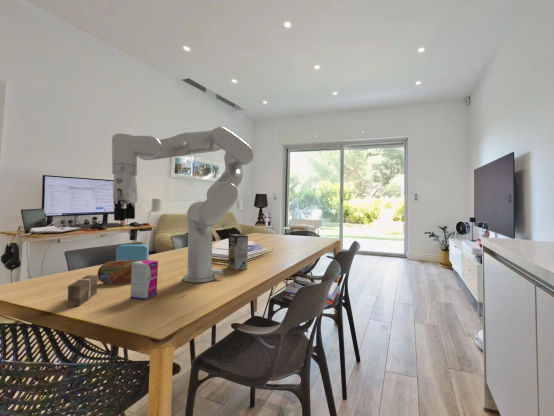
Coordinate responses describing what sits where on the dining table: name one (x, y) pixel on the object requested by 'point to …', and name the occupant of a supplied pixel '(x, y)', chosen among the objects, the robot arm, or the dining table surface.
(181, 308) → the dining table surface
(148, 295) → the supplement box
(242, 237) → the coffee box
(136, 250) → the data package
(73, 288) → the brown rectangular block
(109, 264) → the tin
